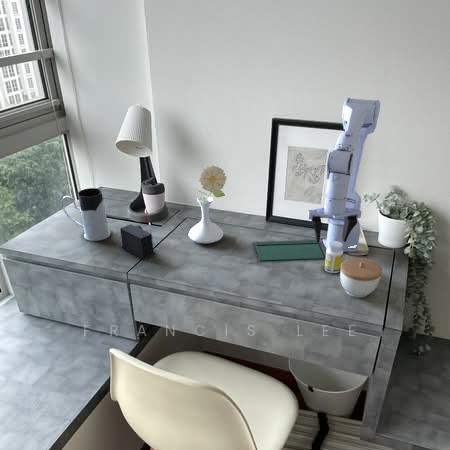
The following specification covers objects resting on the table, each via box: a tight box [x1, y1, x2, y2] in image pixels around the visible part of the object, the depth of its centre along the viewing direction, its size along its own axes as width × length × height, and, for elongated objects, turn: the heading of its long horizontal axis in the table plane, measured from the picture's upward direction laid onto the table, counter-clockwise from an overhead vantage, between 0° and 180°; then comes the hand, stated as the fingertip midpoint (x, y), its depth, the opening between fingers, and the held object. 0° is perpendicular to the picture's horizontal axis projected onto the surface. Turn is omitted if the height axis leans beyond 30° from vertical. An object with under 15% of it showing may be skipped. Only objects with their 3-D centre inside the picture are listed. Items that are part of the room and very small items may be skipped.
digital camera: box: [120, 223, 154, 259], centre depth 152 cm, size 10×5×7 cm, turn 47°
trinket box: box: [339, 256, 383, 298], centre depth 130 cm, size 11×11×9 cm
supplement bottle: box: [324, 241, 344, 274], centre depth 140 cm, size 5×5×8 cm
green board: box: [254, 239, 325, 262], centre depth 152 cm, size 20×12×1 cm, turn 93°
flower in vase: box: [188, 165, 228, 244], centre depth 152 cm, size 13×11×25 cm
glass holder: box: [60, 187, 111, 242], centre depth 158 cm, size 9×14×15 cm, turn 89°
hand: (330, 240), depth 138 cm, fingers open, 7 cm apart
